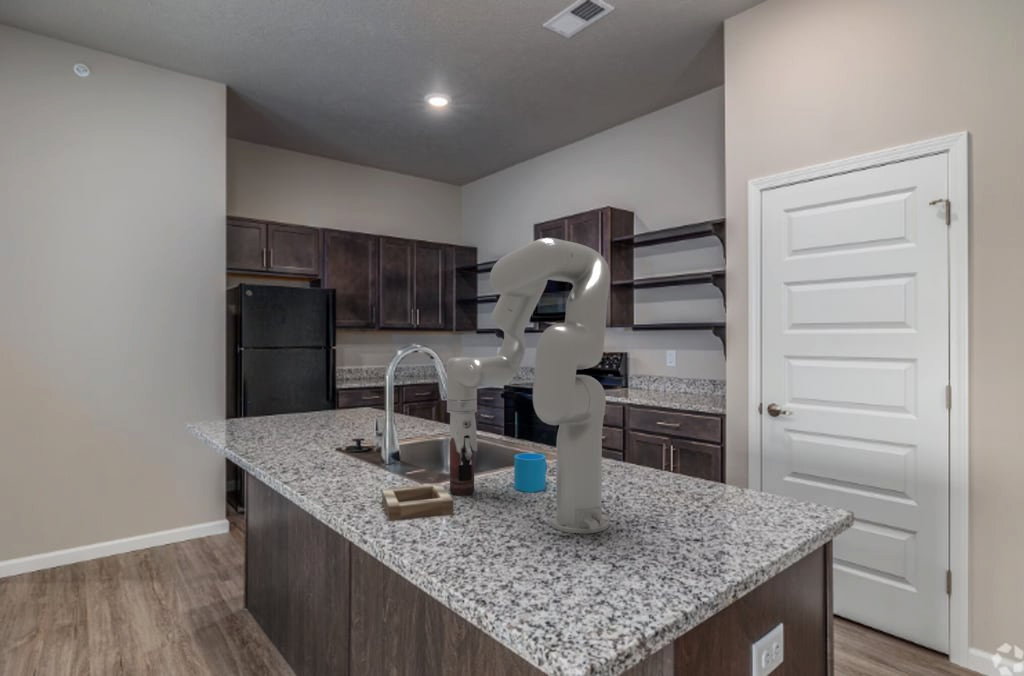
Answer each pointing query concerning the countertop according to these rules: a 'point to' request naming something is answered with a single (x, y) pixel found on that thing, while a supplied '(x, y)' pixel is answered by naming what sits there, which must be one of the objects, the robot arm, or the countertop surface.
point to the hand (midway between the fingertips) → (462, 477)
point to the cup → (455, 485)
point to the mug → (530, 472)
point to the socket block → (416, 502)
